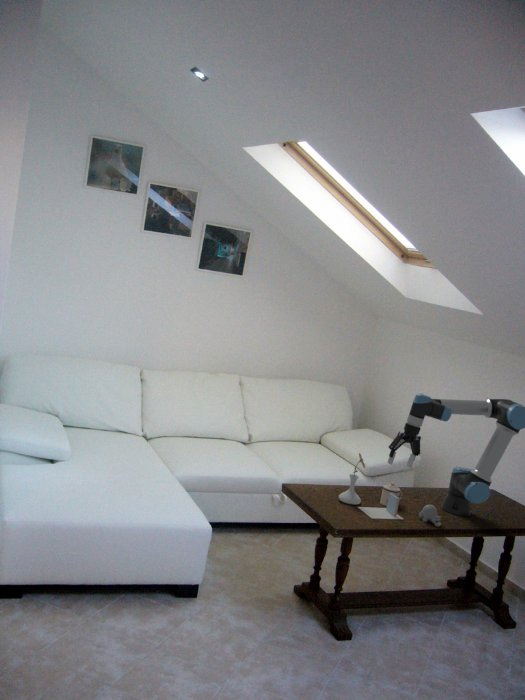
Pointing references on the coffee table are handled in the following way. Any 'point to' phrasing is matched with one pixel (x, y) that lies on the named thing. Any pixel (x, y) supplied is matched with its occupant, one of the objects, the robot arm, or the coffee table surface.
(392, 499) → the tile
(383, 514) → the mat
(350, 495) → the flower in vase
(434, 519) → the chubby cartoon animal
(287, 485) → the coffee table surface
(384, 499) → the teacup with lid
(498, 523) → the coffee table surface
